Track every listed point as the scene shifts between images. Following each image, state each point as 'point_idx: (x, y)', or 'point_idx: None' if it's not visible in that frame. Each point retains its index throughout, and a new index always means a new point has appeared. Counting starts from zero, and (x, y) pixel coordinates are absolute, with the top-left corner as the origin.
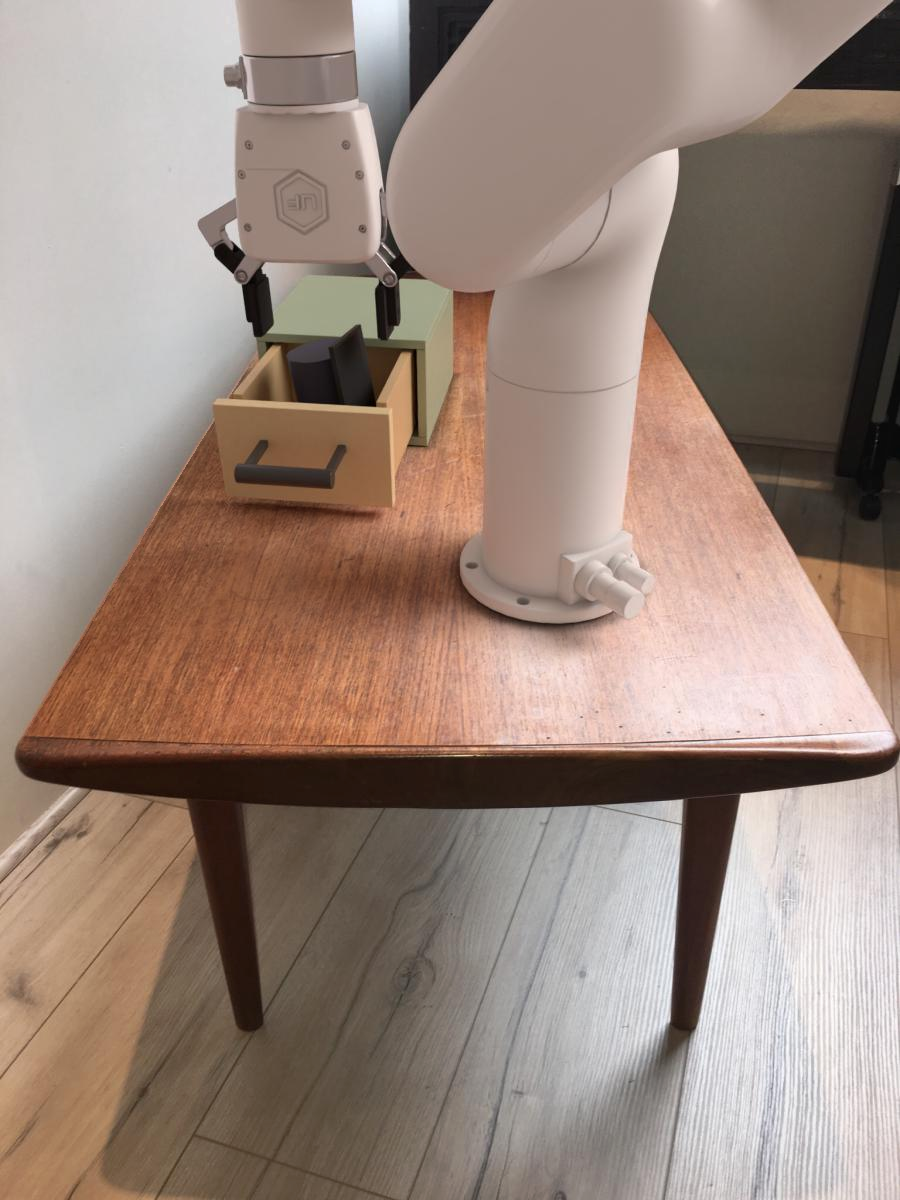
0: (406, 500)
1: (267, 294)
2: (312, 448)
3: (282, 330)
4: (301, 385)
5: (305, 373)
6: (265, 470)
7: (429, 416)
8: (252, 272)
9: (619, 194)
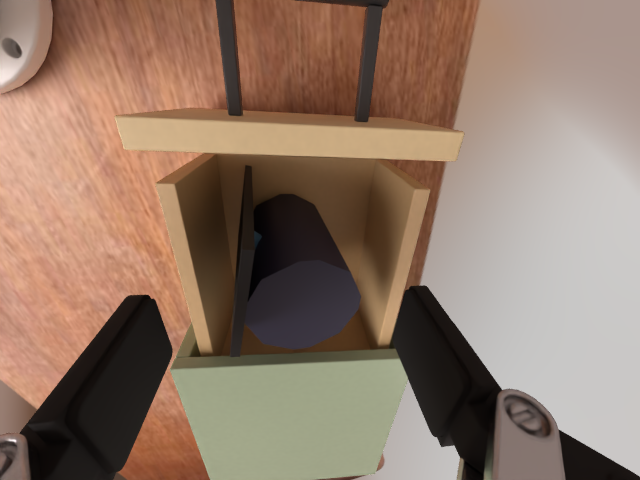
0: (196, 155)
1: (422, 388)
2: (285, 117)
3: (380, 367)
4: (327, 245)
5: (319, 251)
6: None
7: None
8: (502, 432)
9: None
